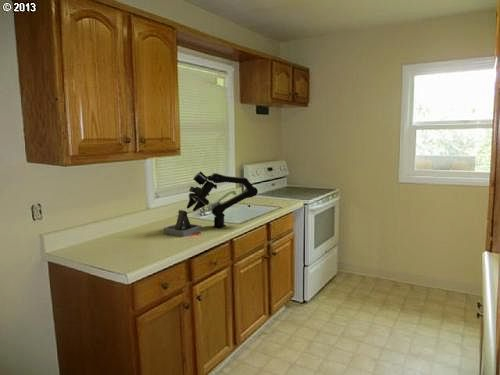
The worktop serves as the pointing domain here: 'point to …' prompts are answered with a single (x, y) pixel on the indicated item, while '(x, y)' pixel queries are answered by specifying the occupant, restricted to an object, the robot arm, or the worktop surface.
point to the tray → (182, 233)
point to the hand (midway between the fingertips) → (190, 209)
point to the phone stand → (181, 218)
